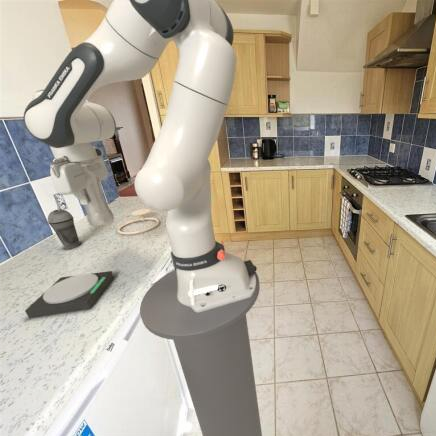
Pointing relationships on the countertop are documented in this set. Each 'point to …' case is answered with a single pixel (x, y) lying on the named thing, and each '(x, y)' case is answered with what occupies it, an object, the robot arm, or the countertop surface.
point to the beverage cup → (64, 227)
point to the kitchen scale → (71, 294)
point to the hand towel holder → (141, 214)
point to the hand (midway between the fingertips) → (92, 200)
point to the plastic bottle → (96, 201)
